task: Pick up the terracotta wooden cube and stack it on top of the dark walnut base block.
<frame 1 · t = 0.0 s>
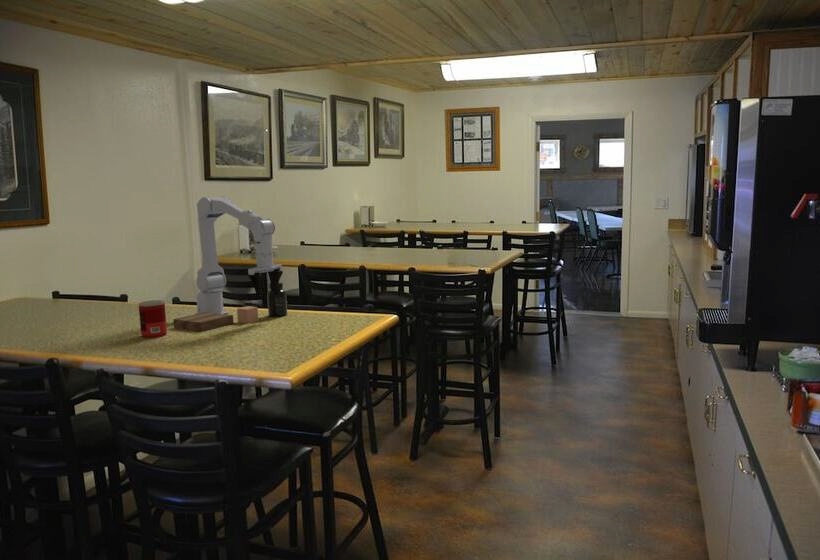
hand: (266, 292, 237), 10 cm above the table, fingers open, 7 cm apart
canned food: (154, 336, 220), on the table
terracotta cube: (248, 321, 238), on the table
walnut base: (204, 325, 233), on the table
supplement bottle: (277, 315, 248), on the table
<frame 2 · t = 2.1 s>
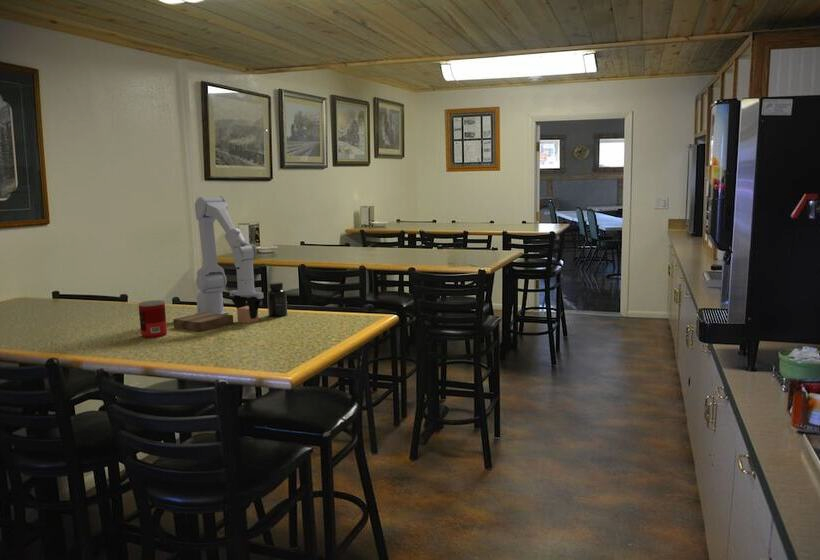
hand: (247, 317, 238), 1 cm above the table, fingers closed on terracotta cube, 5 cm apart
terracotta cube: (248, 321, 238), on the table, touching gripper
everything else where it was.
when the fingers open (6 cm above the table, at t = 5.8 s): terracotta cube drops 1 cm, resting on walnut base.
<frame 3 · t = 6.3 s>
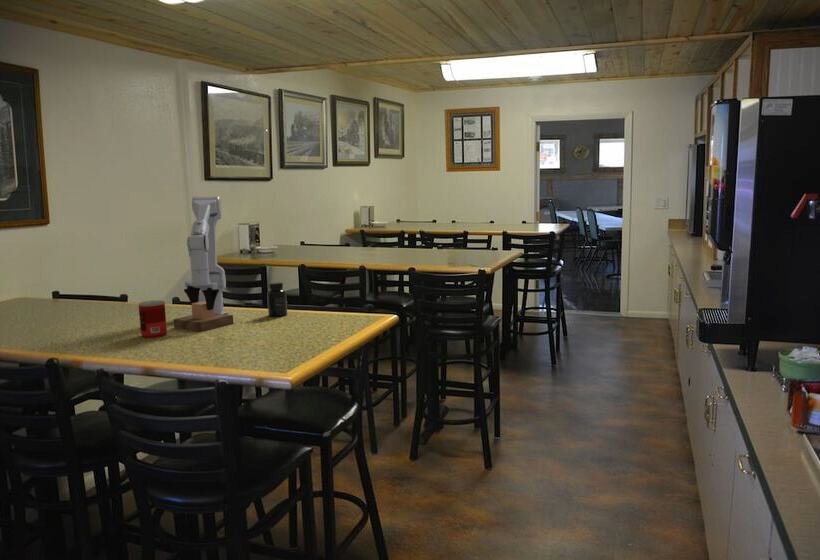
hand: (202, 308, 232), 6 cm above the table, fingers open, 7 cm apart
terracotta cube: (203, 317, 233), point 3 cm above the table, touching walnut base
everything else where it was.
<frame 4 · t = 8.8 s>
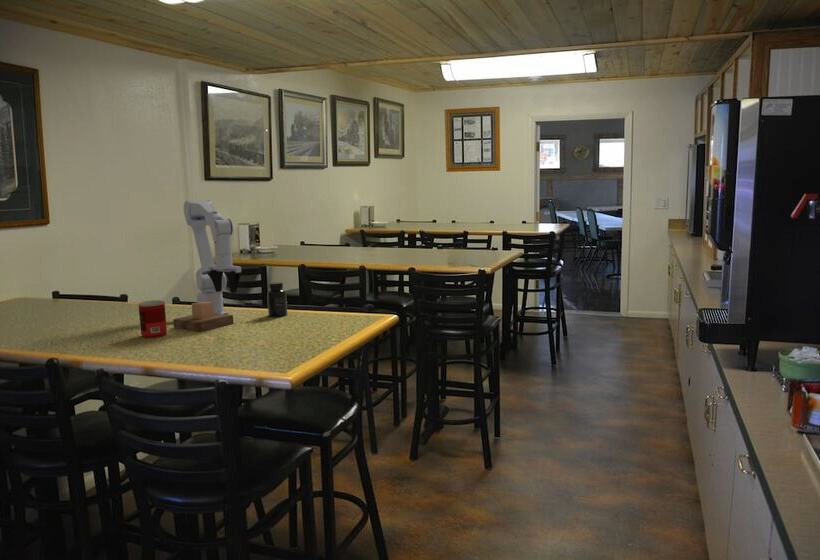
hand: (226, 291, 239), 10 cm above the table, fingers open, 7 cm apart
nothing on the table moved.
at the end: terracotta cube inside the target area on the walnut base (0.0 cm from its centre), point 3.0 cm above the walnut base's base; terracotta cube tilted 0°; the gripper is holding nothing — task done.
